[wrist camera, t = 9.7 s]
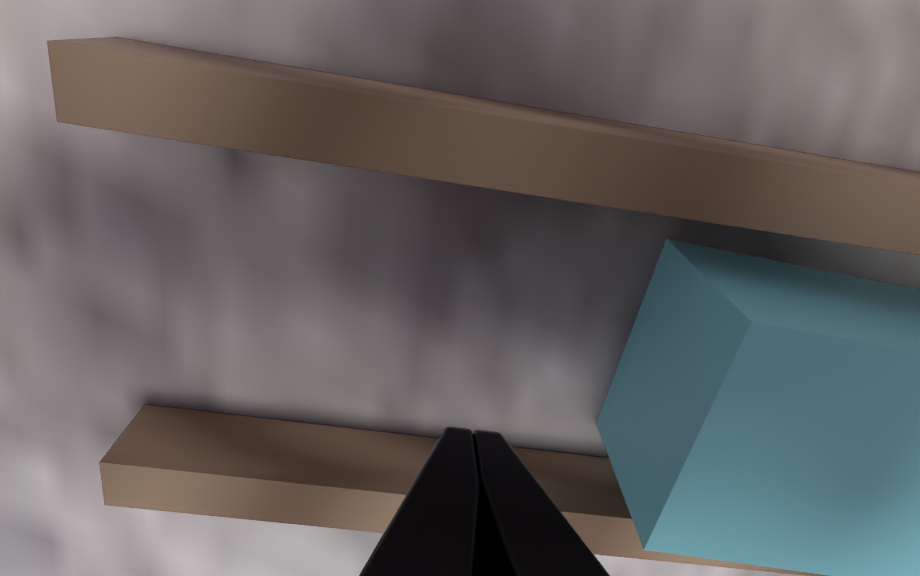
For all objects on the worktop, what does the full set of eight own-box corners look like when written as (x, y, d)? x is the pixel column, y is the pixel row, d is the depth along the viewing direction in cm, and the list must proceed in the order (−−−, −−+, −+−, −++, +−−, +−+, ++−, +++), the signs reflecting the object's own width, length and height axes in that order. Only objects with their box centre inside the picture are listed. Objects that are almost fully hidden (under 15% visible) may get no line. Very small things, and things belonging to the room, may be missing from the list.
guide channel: (148, 443, 14) (78, 542, 12) (116, 37, 11) (0, 42, 8) (889, 525, 16) (980, 627, 13) (1097, 202, 12) (1282, 253, 10)
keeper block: (594, 419, 15) (643, 550, 11) (663, 235, 13) (751, 321, 9) (845, 459, 15) (969, 594, 12) (947, 292, 13) (1135, 393, 10)
